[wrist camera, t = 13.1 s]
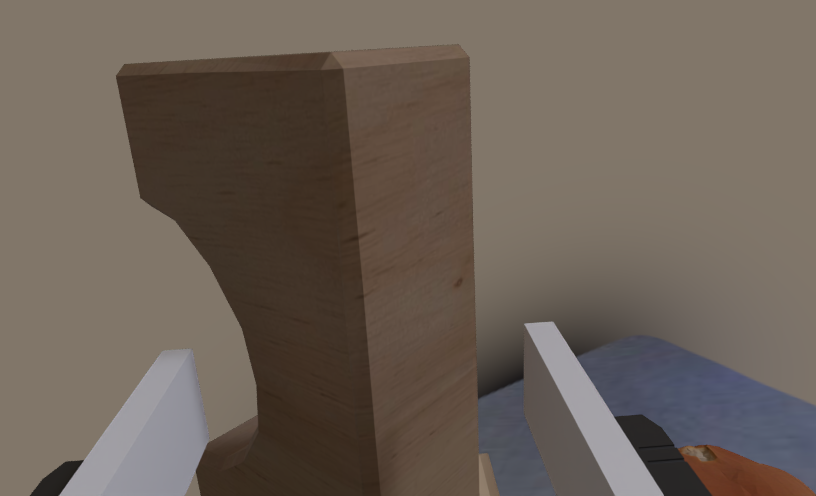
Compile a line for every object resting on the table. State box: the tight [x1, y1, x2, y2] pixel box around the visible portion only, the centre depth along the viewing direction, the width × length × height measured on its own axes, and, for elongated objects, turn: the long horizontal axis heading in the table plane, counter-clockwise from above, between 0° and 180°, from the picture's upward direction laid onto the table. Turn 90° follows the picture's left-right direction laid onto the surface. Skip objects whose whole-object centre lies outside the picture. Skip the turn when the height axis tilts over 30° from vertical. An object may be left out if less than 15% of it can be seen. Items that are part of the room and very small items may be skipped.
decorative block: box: [116, 44, 480, 496], centre depth 22 cm, size 11×6×20 cm, turn 48°
